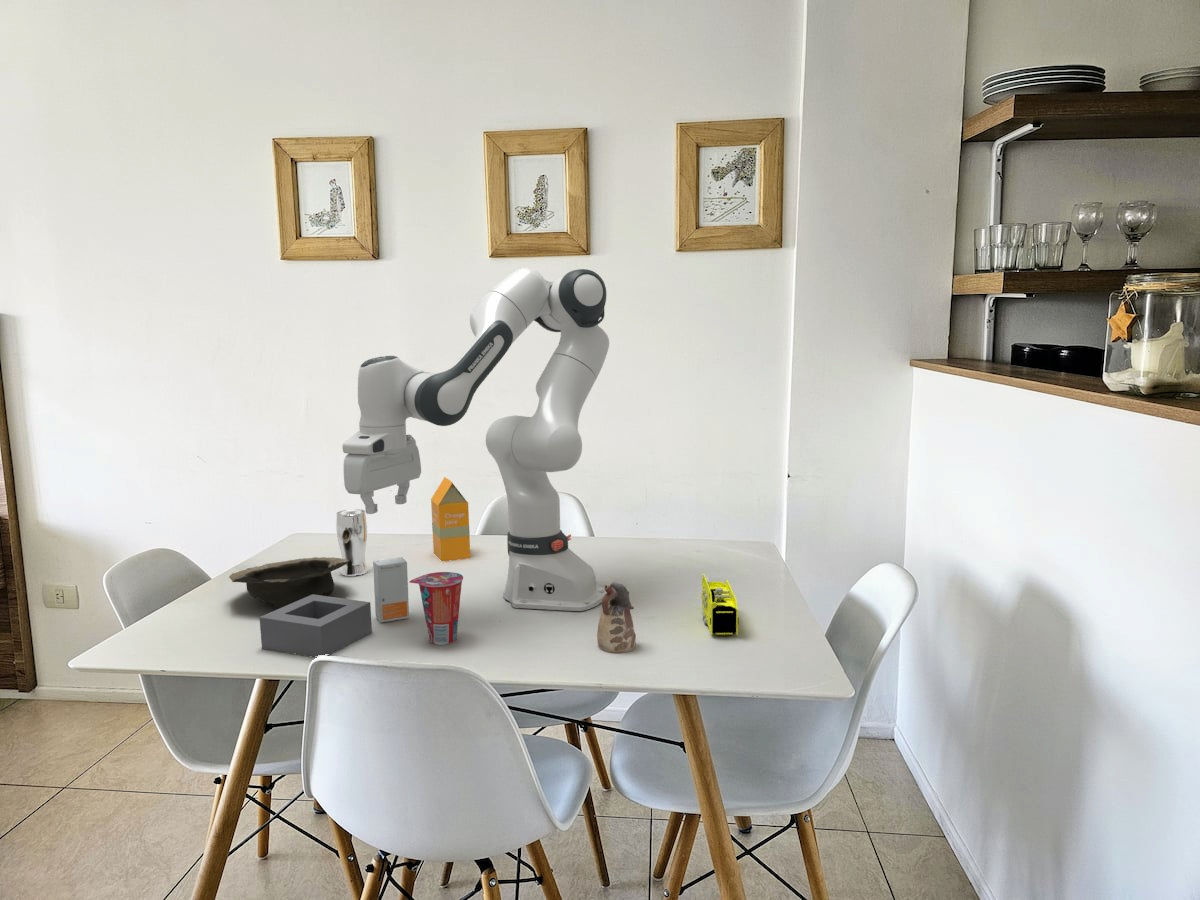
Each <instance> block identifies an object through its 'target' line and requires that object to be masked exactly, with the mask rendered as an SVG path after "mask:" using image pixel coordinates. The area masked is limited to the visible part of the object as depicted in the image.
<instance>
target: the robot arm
mask: <svg viewBox="0 0 1200 900" xmlns="http://www.w3.org/2000/svg"><path fill="white" fill-rule="evenodd" d="M606 301H607V287H606V284H605V281H604V280H603V278H602V277H601V276H600V275H599V274H598V273H596V272H595V271H593V270H590V269H584V268H580V269H574V270H571V271H569V272H567V273H566V274H565V275H562V276H560V277H559V278H557V279H555V280H553V281H548V280H546V279H545V278H544V276H543V275H541V274H540V273H539V272H538V271H536V270H535V269H532V268H530V267H522V268H520V267H519V268H518V269H516V270H514V271H513V272H511V273H509V274H508V275H507V276H505V277H503V278H502V279H501V280H500V281H498V283H496V284H495V285H494V286H493V287H492V288H491V289H489V290H488V292H486V294H484V296H483V297H482V298H481V299H479V301H478V302H477V304H476V305H475V306H474V308H473V309H472V311H471V313H470V315H469V325H470V330H471V332H472V333H473V335H474V336H475V338H474V340H473V342H472V343H471V344H470V345H469V347H468V348H467V349H466V350H465V352H464V353H463V354H462V355H461V356H460V357H459V358H458V359H457V361H456V362H455V363H454V364H453V365H452V366H451V367H450V368H448V369H446V370H443V371H440V372H428V371H427V372H426V371H424V370H422V369H419V368H417V367H413V366H412V365H409V364H408V363H406V362H405V361H403V360H401V359H400V358H399V356H395V355H385V356H377V357H373V358H369V359H367V360H365V361H363V362H362V363H361V365H360V366H359V370H358V377H357V404H358V407H359V409H360V418H359V419H360V420H359V423H358V424H359V425H358V426H359V431H356V432H355V434H353V435H352V436H350V437H349V438H348V439H347V440H345V441H344V442H343V443H342V445H341V446H342V452H343V454H346V455H345V457H344V459H343V481H344V483H343V484H344V488H345V490H346V491H347V493H348V494H350V495H351V494H352V495H359V497H360V499H361V501H362V502H363V504H364V508H365V510H364V511H365V514H366V515H374V514H376V513H378V503H375V501H374V499H373V497H374V496H375V493H374V492H375V491H379V490H382V489H386V488H389V487H393V486H395V485H397V486H396V487H398V489H397V494H395V495H394V501H395V504H396V505H404V504H406V503H407V496H408V491H409V489H410V486H411V485H410V484H411V483H410V481H413V480H416V479H419V478H420V476H421V474H422V462H421V457H420V456H421V455H420V450H419V447H418V446H417V441H416V439H415V438H414V437H413V436H412V434H407V425H406V424H407V423H406V422H407V419H409V418H412V419H415V420H416V419H417V420H419V421H425V422H428V423H431V424H433V425H435V426H438V427H439V426H440V427H447V426H452V425H454V424H456V423H458V422H459V421H460V420H462V418H463V417H464V416H465V415H466V414H467V412H468V410H469V407H470V405H471V402H472V401H473V397H474V395H475V393H476V391H477V390H478V388H479V387H480V386H481V385H482V383H483V382H484V381H485V380H486V378H487V377H488V376H489V375H490V373H492V371H493V370H494V369H495V367H497V365H498V363H499V362H501V360H502V359H503V357H504V356H505V354H506V353H507V352H508V351H509V349H510V348H511V346H512V344H513V343H514V342H515V341H516V340H517V339H518V338H519V337H520V336H521V335H522V334H523V333H524V332H525V331H526V329H527V328H529V326H530V325H531V324H532V323H533V321H534V322H536V323H537V324H538V325H539V326H541V327H542V328H543V329H544V330H546V331H549V332H552V333H553V332H554V333H560V336H559V337H560V338H559V342H558V345H557V347H556V348H555V350H554V352H553V353H552V355H551V357H550V358H549V360H548V362H547V364H546V365H545V367H544V369H543V371H542V373H541V374H540V377H539V378H538V380H537V382H536V384H535V392H536V394H537V397H538V404H537V409H536V410H535V412H534V414H533V415H532V416H523V415H510V416H504V417H500V418H497V419H495V420H494V421H493V422H492V423H491V424H490V425H489V427H488V428H487V431H486V434H485V446H486V448H487V451H488V453H489V454H490V455H491V456H492V458H493V459H494V461H495V463H496V464H497V467H498V470H499V472H500V475H501V479H502V482H503V485H504V489H505V492H506V497H507V498H506V499H507V510H508V513H507V514H508V532H507V533H506V534H507V538H506V539H507V554H508V558H509V559H508V568H507V569H508V570H507V577H506V584H505V589H504V592H503V598H504V599H505V600H507V602H510V603H511V606H512V607H513V608H514V609H516V608H517V609H531V610H533V609H534V610H551V611H565V612H566V611H567V612H583V611H587V610H589V609H593V608H594V607H597V606H598V605H600V604H602V600H603V598H604V596H605V595H606V594H607V592H606V591H605V589H604V587H602V586H597V578H596V575H595V571H594V569H593V567H592V566H591V565H590V564H589V563H588V562H586V561H584V559H582V558H581V557H580V556H579V555H577V553H575V552H574V551H572V549H570V548H569V541H571V540H572V538H571V537H572V534H568V535H566V534H565V533H564V532H563V531H562V529H561V507H560V506H561V504H560V503H561V502H560V499H561V498H560V495H559V493H558V491H557V489H555V487H554V486H553V484H552V483H551V482H550V478H549V477H548V473H555V472H557V473H558V472H564V471H568V470H570V469H572V468H573V467H574V466H576V464H577V463H578V462H579V460H580V458H581V455H582V452H583V441H582V437H581V435H580V432H579V430H578V428H579V418H580V415H581V411H582V408H583V406H584V404H585V403H586V400H587V398H588V396H589V394H590V392H591V390H592V388H593V387H594V384H595V382H596V381H597V379H598V377H599V375H600V372H601V370H602V368H603V366H604V363H605V360H606V358H607V354H608V351H609V348H610V339H609V337H608V334H607V332H606V331H605V330H604V329H603V328H602V327H601V326H599V324H600V323H602V322H603V320H604V319H605V306H606V303H607V302H606Z"/></svg>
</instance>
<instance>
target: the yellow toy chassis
mask: <svg viewBox="0 0 1200 900" xmlns="http://www.w3.org/2000/svg"><path fill="white" fill-rule="evenodd" d="M733 591H734V590H733V589H732V587H731V584H730V583H729V580H728V579H726V580H725V583H724V582H723V581H710V579H709V577H708V576H706V575H705V573H703V574H702V577H701V608H702V612H703V613H702V620H703V622H704V623H703V624H704V625H707V626H708V630H709V632H710V635H711V636H712V635H715V636H733V635H734V634H736V636H738V634H739V633H738V629H739V628H738V625H739V616H738V615H739V609H738V601H737V598H736V595H735V593H734V592H733Z"/></svg>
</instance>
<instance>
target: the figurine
mask: <svg viewBox="0 0 1200 900" xmlns="http://www.w3.org/2000/svg"><path fill="white" fill-rule="evenodd" d="M603 588H604V589H605V591H606V592H607V594H606V595H605V596H604V598H603V600H602V602H601V608H602V609H601V612H600V615H599V620H598V625H597V631H596V638H597V644H598V645H597V646H598V648H599V649H600V650H602V651H604V652H606V653H613V654H619V653H620V654H622V653H628V652H632V651H633V650H634V649H635V646H636V644H637V642H636V640H637V638H636V635H637V634H636V632H635V629H634V628H635V627H634V621H633V616H632V613H631V610H634V609H635V607H634V605H633V604H632V603H631V601H630V591H629V589H628V588H627V587H626V586H624V584H622V583H621V582H618V581H614V582H611V584H609V585H608V584H605V585H604V586H603Z"/></svg>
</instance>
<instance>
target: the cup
mask: <svg viewBox="0 0 1200 900" xmlns="http://www.w3.org/2000/svg"><path fill="white" fill-rule="evenodd" d="M463 580H464V576H463V575H462V574H461V573H458V572H451V571H439V572H438V571H436V572H431V573H426V574H423V575H420V576H417V577H415V578H412V579H411V580H409V581H408V584H410V583H411V584H417V585H418V586H419V591H420V596H421V603H422V608H423V613H424V620H425V624H426V630H427V636H428V641H429V643H430V644H433V645H435V646H436V645H437V646H439V645H440V646H442V645H443V646H445V645H448V644H452V643H454V642H456V641H457V638H458V627H459V616H460V614H459V613H460V607H461V606H460V604H461V603H460V602H461V595H462V585H463V584H462V583H463Z"/></svg>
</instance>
